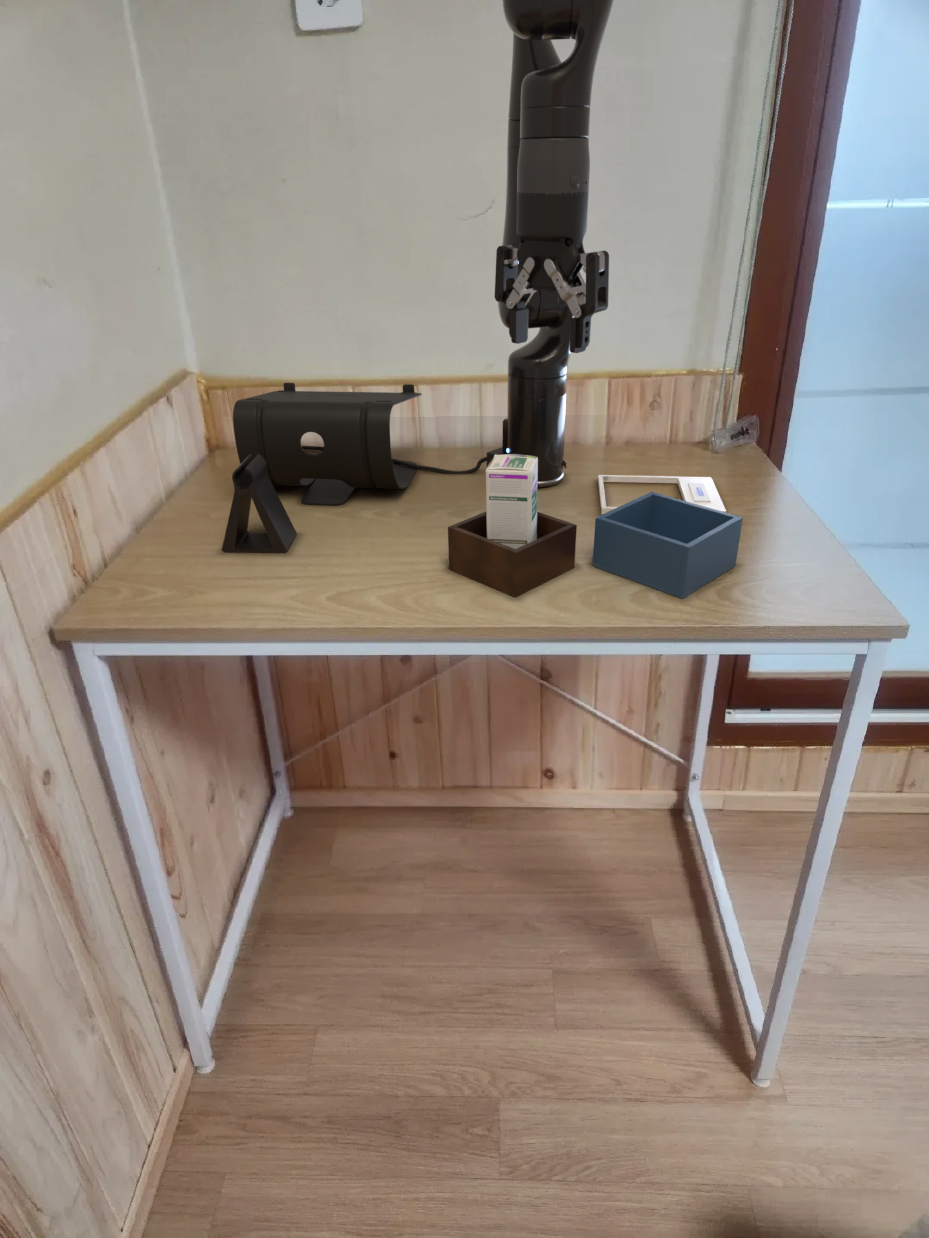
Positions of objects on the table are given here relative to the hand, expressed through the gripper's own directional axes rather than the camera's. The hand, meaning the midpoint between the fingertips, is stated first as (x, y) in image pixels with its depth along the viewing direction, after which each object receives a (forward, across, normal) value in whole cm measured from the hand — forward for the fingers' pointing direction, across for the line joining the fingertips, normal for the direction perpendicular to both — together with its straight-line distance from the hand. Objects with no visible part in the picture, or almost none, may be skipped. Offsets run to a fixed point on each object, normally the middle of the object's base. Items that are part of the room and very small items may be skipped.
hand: (547, 347), depth 97 cm
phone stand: (+28, +34, +20) cm, 48 cm away
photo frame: (+28, +2, -31) cm, 42 cm away
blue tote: (+28, -12, -11) cm, 32 cm away
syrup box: (+28, +3, +3) cm, 28 cm away
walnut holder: (+28, +3, +3) cm, 28 cm away
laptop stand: (+28, +46, -3) cm, 54 cm away
